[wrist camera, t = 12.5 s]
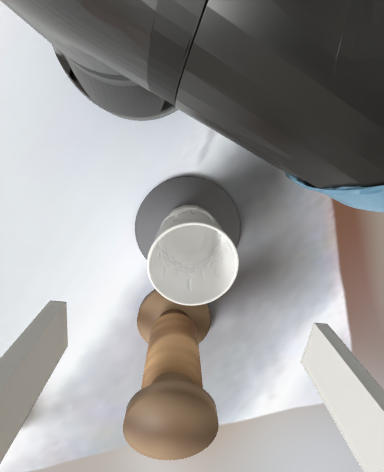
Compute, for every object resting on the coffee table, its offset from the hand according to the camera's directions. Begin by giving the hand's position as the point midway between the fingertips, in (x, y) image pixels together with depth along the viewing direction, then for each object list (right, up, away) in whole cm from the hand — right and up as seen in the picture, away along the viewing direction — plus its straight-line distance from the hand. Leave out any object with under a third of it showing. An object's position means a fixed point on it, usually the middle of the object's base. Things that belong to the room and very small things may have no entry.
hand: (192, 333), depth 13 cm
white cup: (0, +6, +18) cm, 19 cm away
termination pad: (-1, +6, +18) cm, 19 cm away
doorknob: (-3, -6, +22) cm, 23 cm away
